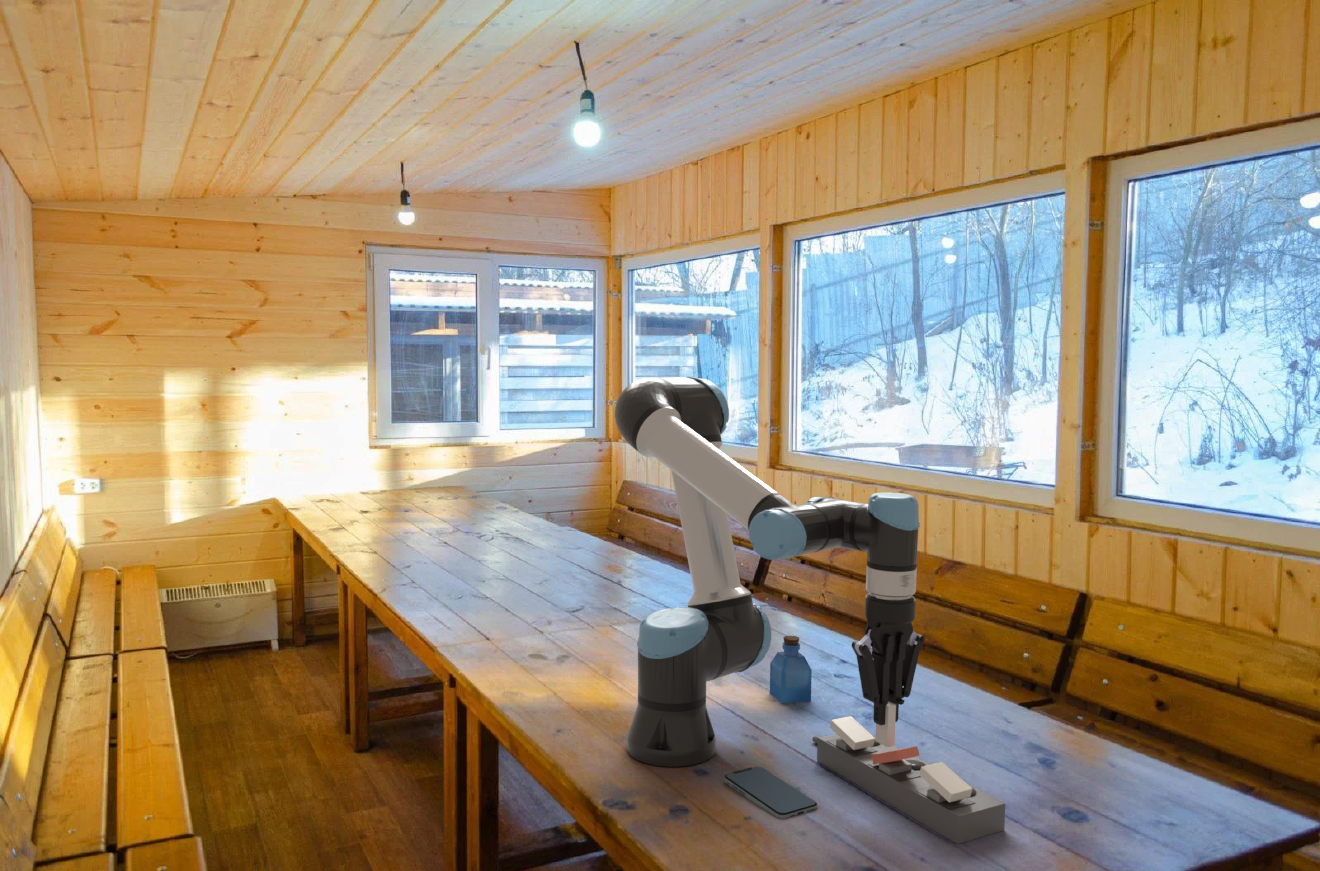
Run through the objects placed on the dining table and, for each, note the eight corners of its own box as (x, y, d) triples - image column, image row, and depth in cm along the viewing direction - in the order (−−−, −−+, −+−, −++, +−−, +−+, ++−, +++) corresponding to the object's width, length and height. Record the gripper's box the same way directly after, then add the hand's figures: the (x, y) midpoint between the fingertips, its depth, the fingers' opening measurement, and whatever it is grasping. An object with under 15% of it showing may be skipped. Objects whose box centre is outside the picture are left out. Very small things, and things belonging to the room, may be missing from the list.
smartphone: (780, 814, 145) (721, 774, 158) (780, 825, 146) (721, 784, 158) (820, 802, 149) (759, 764, 162) (820, 813, 149) (759, 773, 162)
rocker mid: (919, 755, 152) (917, 746, 152) (899, 760, 150) (896, 750, 150) (893, 759, 157) (891, 750, 157) (873, 764, 155) (871, 755, 155)
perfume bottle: (781, 703, 194) (782, 643, 193) (769, 693, 200) (770, 634, 199) (810, 701, 196) (812, 640, 195) (798, 690, 202) (799, 632, 201)
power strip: (1004, 830, 143) (1005, 796, 142) (957, 844, 139) (958, 809, 138) (833, 737, 177) (834, 709, 177) (792, 746, 173) (792, 718, 172)
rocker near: (970, 796, 143) (972, 788, 142) (949, 802, 141) (951, 794, 140) (939, 769, 148) (941, 761, 148) (919, 774, 146) (921, 766, 146)
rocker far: (873, 745, 161) (875, 738, 161) (853, 750, 159) (855, 742, 159) (849, 723, 166) (850, 715, 166) (829, 727, 165) (831, 719, 164)
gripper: (873, 604, 147) (867, 759, 149) (939, 595, 153) (933, 744, 155) (841, 592, 154) (836, 741, 156) (906, 584, 160) (900, 728, 162)
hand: (884, 742), depth 156 cm, fingers closed
